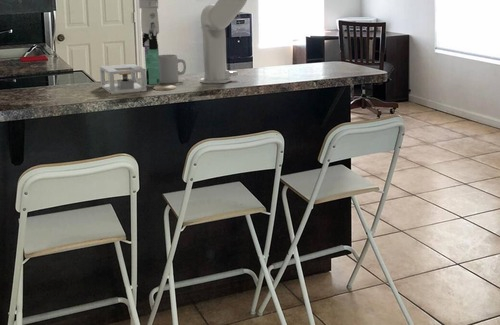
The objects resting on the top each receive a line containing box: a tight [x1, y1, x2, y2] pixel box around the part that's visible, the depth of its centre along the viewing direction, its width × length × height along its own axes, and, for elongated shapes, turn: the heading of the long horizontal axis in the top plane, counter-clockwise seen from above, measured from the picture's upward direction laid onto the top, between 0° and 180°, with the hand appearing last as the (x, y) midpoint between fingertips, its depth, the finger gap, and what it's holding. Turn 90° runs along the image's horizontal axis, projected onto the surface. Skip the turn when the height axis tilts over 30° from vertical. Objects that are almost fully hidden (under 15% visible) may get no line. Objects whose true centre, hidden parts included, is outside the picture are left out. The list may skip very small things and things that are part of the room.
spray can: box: [144, 38, 161, 88], centre depth 282 cm, size 6×6×20 cm
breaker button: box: [118, 73, 131, 81], centre depth 272 cm, size 5×5×4 cm
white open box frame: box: [99, 63, 148, 95], centre depth 276 cm, size 14×18×8 cm
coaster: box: [152, 84, 177, 91], centre depth 277 cm, size 9×9×1 cm
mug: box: [159, 54, 187, 84], centre depth 292 cm, size 12×8×11 cm
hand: (149, 48), depth 280 cm, fingers open, 9 cm apart
